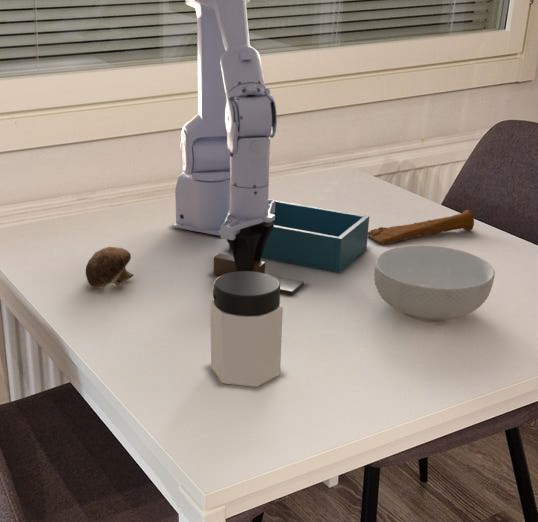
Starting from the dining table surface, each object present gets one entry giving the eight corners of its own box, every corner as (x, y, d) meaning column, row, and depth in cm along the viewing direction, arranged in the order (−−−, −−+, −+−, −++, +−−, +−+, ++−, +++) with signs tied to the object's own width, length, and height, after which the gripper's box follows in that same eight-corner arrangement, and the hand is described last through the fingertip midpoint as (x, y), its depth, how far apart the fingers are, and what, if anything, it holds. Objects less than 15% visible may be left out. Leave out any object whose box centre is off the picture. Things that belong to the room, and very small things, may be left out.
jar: (243, 350, 128) (245, 264, 121) (291, 370, 123) (296, 281, 117) (197, 373, 122) (196, 284, 115) (246, 394, 118) (248, 303, 111)
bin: (228, 251, 159) (228, 218, 156) (261, 229, 168) (262, 197, 165) (338, 272, 152) (341, 239, 149) (366, 248, 162) (369, 216, 159)
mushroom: (152, 261, 145) (125, 229, 142) (128, 297, 141) (99, 265, 138) (120, 273, 151) (93, 243, 148) (96, 308, 147) (68, 278, 144)
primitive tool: (380, 245, 163) (382, 224, 161) (365, 234, 167) (366, 214, 165) (476, 233, 169) (479, 213, 167) (459, 223, 173) (461, 204, 172)
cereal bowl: (414, 344, 131) (420, 295, 127) (349, 300, 143) (352, 254, 139) (511, 322, 137) (520, 275, 133) (441, 282, 150) (447, 238, 146)
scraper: (209, 278, 149) (209, 259, 147) (223, 268, 152) (223, 250, 151) (291, 295, 144) (292, 276, 142) (304, 285, 147) (305, 266, 146)
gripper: (252, 200, 133) (250, 292, 141) (294, 174, 144) (290, 260, 152) (207, 192, 136) (208, 283, 143) (252, 167, 147) (250, 253, 154)
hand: (247, 271), depth 148 cm, fingers closed on scraper, 2 cm apart
